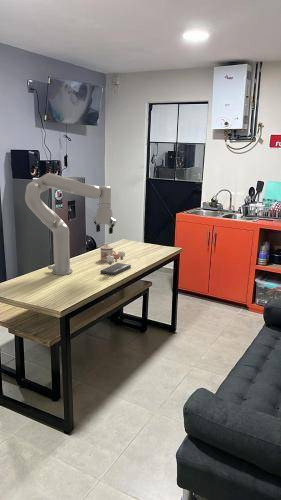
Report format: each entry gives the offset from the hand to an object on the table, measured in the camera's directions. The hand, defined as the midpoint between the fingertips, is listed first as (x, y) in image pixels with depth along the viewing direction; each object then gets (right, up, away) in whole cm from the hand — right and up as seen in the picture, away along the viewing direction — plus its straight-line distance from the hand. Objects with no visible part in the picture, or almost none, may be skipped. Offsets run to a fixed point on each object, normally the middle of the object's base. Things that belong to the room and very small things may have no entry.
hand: (104, 232), depth 242 cm
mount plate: (+7, -24, +3) cm, 26 cm away
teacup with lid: (0, -18, +28) cm, 34 cm away
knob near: (+4, -20, -5) cm, 21 cm away
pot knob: (+7, -19, +1) cm, 20 cm away
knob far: (+11, -17, +7) cm, 22 cm away
